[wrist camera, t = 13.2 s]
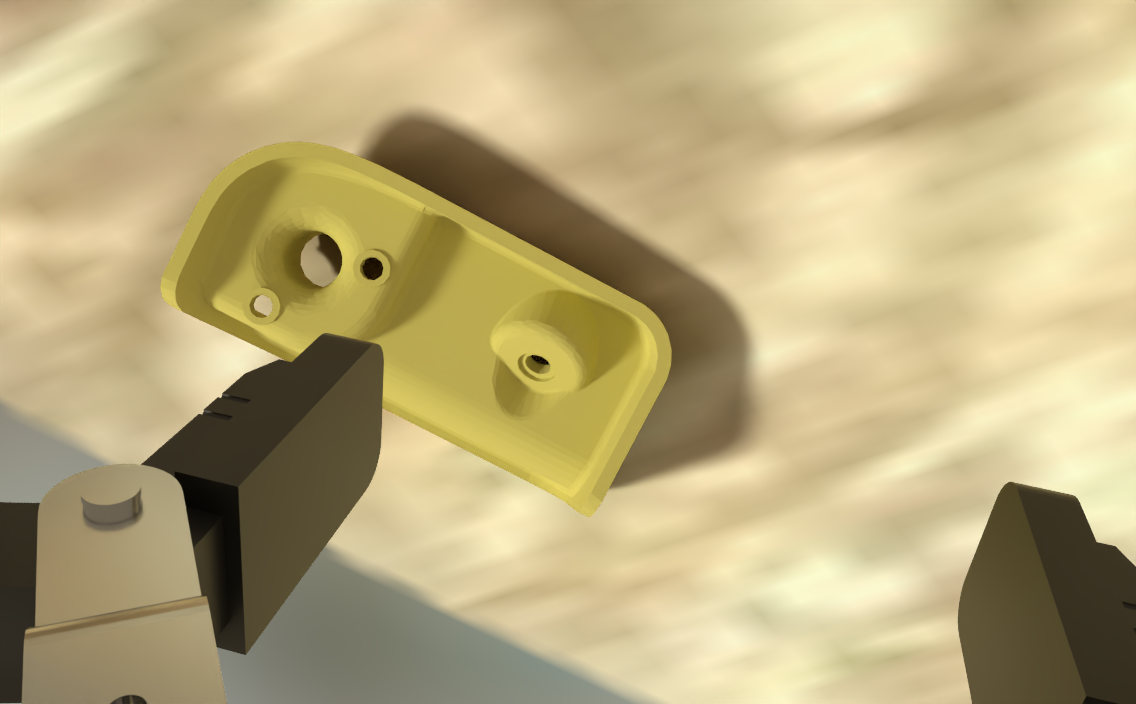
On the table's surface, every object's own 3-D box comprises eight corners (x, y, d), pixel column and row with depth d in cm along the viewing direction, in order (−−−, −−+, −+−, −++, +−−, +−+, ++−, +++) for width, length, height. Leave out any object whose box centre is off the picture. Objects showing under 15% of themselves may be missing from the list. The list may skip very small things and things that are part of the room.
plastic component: (693, 330, 40) (579, 544, 40) (665, 320, 47) (569, 502, 48) (251, 95, 38) (137, 321, 39) (293, 124, 46) (197, 313, 46)
